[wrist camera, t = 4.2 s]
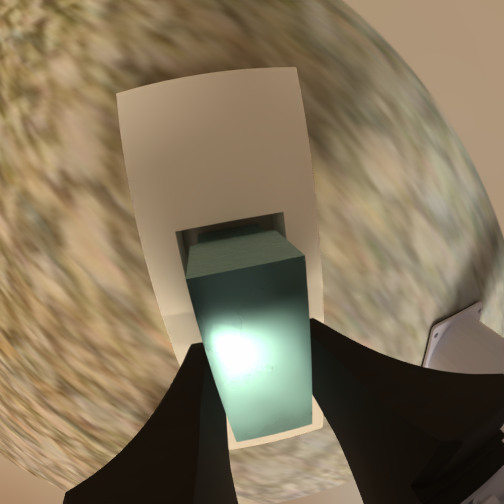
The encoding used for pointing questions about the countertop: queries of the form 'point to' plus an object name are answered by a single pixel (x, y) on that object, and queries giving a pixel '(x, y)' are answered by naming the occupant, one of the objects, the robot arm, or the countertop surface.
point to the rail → (219, 182)
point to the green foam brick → (254, 327)
